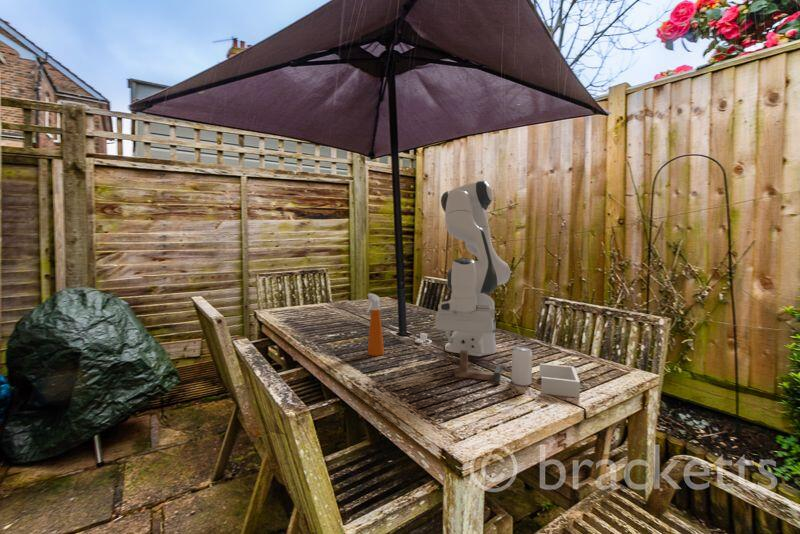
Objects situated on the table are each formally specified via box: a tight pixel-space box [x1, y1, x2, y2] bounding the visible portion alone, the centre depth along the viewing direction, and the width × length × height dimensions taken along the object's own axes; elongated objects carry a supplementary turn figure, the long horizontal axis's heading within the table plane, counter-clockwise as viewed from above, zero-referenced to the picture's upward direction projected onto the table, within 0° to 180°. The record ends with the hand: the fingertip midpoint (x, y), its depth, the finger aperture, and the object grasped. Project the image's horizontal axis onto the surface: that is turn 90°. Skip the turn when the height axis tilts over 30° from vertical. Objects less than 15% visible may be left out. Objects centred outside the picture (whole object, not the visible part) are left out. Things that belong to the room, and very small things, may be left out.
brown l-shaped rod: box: [454, 350, 502, 385], centre depth 130 cm, size 16×8×9 cm, turn 72°
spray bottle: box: [365, 293, 385, 357], centre depth 154 cm, size 7×11×26 cm, turn 155°
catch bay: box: [538, 362, 581, 399], centre depth 122 cm, size 11×14×5 cm
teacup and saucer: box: [414, 332, 433, 345], centre depth 174 cm, size 9×8×4 cm
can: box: [511, 345, 533, 387], centre depth 125 cm, size 6×6×12 cm
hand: (464, 343), depth 130 cm, fingers open, 8 cm apart
